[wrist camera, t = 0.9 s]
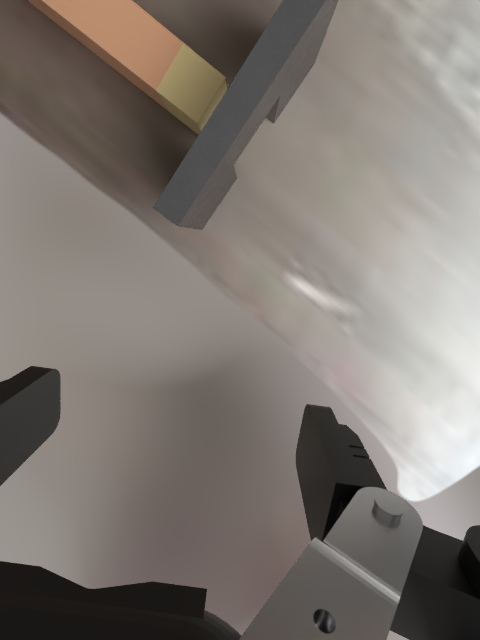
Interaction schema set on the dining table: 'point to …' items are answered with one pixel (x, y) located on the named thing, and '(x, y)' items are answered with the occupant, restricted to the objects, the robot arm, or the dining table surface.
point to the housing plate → (246, 110)
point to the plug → (143, 54)
